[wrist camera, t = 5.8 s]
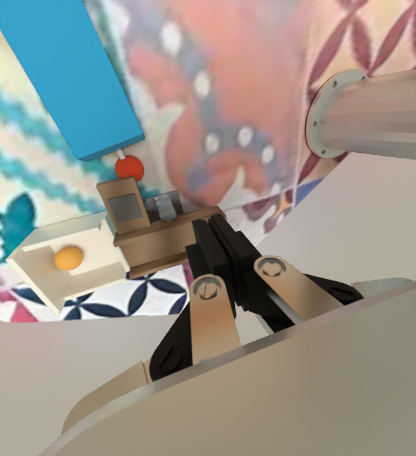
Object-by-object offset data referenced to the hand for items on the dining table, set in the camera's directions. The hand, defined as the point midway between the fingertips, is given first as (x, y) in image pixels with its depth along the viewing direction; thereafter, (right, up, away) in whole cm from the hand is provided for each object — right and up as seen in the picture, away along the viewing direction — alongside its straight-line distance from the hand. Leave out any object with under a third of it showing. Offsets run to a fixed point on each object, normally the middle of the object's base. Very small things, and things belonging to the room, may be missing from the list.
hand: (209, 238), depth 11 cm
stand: (-6, +2, +20) cm, 21 cm away
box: (-18, -2, +17) cm, 25 cm away
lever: (-13, +15, +11) cm, 23 cm away
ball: (-19, -4, +15) cm, 25 cm away
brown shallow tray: (-6, +3, +16) cm, 17 cm away
